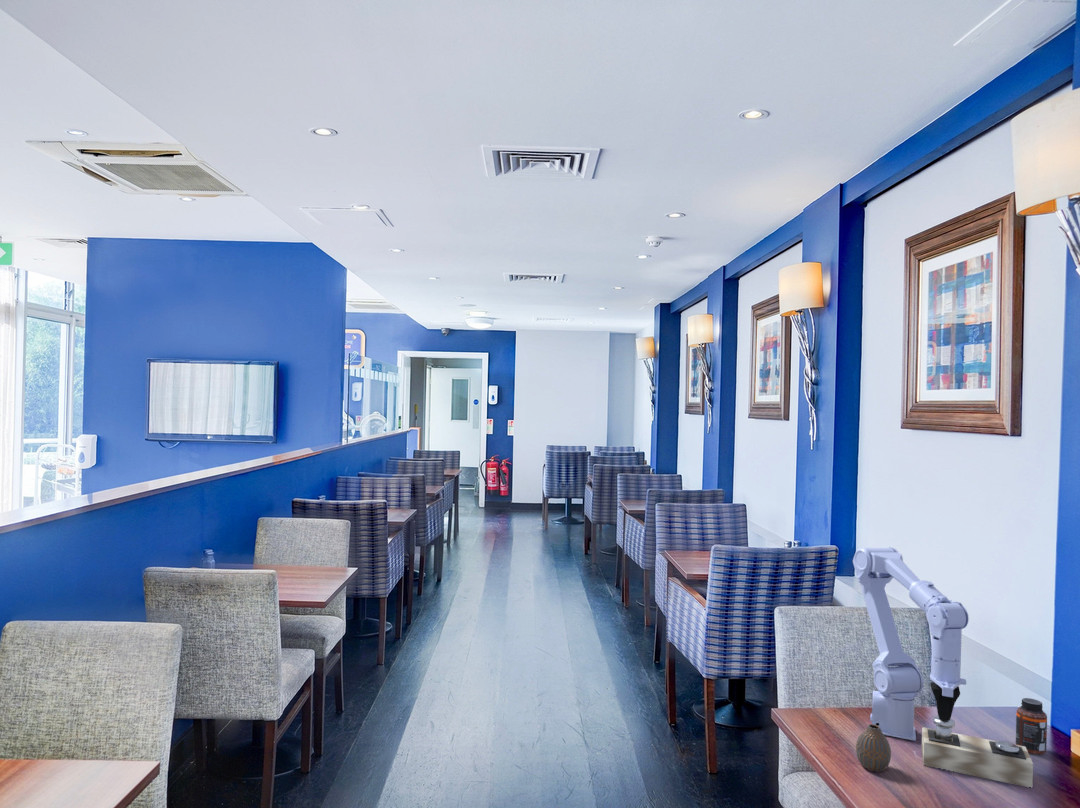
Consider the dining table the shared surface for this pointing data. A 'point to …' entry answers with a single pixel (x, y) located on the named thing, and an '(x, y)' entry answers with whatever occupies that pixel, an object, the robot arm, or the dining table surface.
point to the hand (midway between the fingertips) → (944, 718)
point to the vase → (873, 749)
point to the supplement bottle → (1031, 726)
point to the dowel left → (943, 728)
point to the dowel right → (1007, 747)
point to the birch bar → (977, 758)
